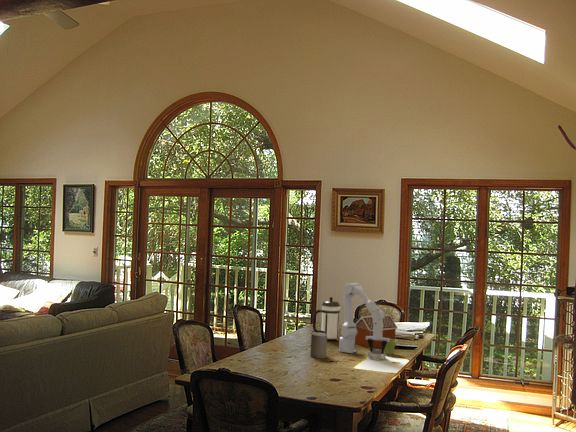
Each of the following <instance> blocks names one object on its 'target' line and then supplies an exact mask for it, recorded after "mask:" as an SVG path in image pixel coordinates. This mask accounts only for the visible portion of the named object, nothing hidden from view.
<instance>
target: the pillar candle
mask: <svg viewBox="0 0 576 432" xmlns="http://www.w3.org/2000/svg"><path fill="white" fill-rule="evenodd" d="M310 338H311V341H310V357H311V358H315V359H325V358H326V357H327V346H328V345H327V342H328V339H327V334H325V333H316V332H312V333H311V337H310Z"/></svg>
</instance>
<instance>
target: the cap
mask: <svg viewBox="0 0 576 432" xmlns="http://www.w3.org/2000/svg"><path fill="white" fill-rule="evenodd" d="M372 353H377V354H380V353H382V349H379V348H377V349H375V348H373V350H372Z"/></svg>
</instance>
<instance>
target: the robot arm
mask: <svg viewBox="0 0 576 432" xmlns="http://www.w3.org/2000/svg"><path fill="white" fill-rule="evenodd" d="M355 295H357V296H358V297H359V298H360V299H361V300H362V301H363V302H364V304H365V307H366V309H367V310H368V311H369V313H370V316H372V319H373V336H366V340H368V341H367V342H368V344H369V346H370V348H369V349H370V351H371V352H372V350H373V349H374V348H373V340H377V341H383V342H381V343H382V347H381V351H382V353H384V349H385V346H386V344H387V342H389V340H390V338H384V337H382V331H383V319H384V317H385V315H386V313H385V312H384V310H382V309H380V308H379V307H378V305H377V304H376V302H375V301H374V300H370V298H369V297H368V295H367V294H366V292H365V291H364V287H363V286H362V285H361V283H359V282H352V283H350V282H348V283H346V284H345V285H344V286H343V295H342V297H343V298H342V299H343V318H344V323H343V324H342V325H341V330H340V334H341V337H339V339H340V340H338V352H340V353H348V354H354V353H355V352H357V350H356V349H355V336H356V335H357V329H356V325H355V324H356V323H355V322H354V314H353V313H354V312H353V297H354V296H355Z"/></svg>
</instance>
